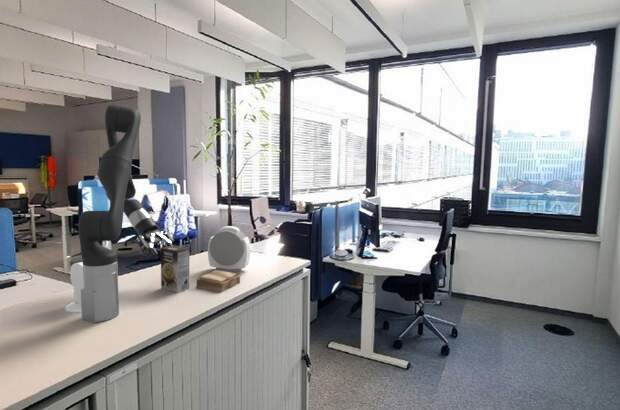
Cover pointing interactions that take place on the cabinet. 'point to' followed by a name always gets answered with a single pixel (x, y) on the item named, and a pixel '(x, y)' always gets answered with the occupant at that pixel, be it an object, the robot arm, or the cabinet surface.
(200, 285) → the brown flat block
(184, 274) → the coffee box
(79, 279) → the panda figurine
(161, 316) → the cabinet surface
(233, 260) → the alarm clock
